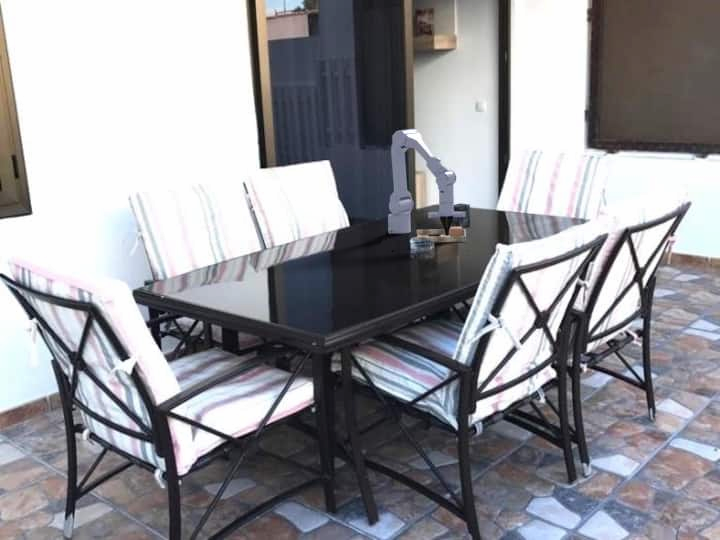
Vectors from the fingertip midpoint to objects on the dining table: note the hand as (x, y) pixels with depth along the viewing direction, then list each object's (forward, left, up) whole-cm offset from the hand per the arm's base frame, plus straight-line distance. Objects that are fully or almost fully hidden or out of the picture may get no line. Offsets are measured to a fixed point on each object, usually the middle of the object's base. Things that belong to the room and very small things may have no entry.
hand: (447, 235), depth 295 cm
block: (+4, 0, -1) cm, 4 cm away
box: (+5, +23, -2) cm, 23 cm away
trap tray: (-3, 0, -2) cm, 4 cm away
